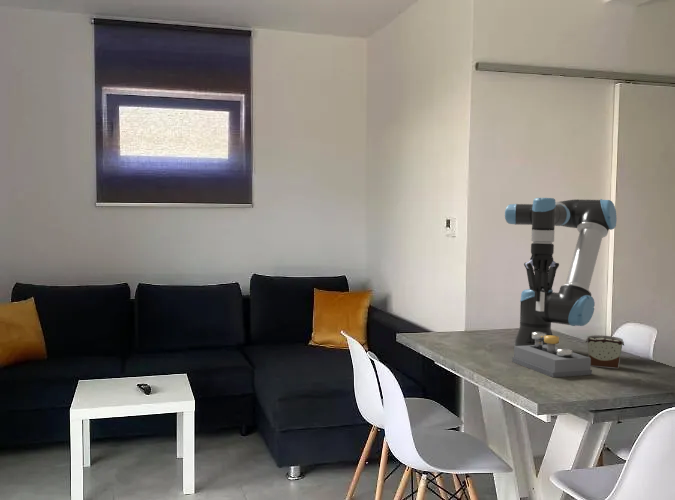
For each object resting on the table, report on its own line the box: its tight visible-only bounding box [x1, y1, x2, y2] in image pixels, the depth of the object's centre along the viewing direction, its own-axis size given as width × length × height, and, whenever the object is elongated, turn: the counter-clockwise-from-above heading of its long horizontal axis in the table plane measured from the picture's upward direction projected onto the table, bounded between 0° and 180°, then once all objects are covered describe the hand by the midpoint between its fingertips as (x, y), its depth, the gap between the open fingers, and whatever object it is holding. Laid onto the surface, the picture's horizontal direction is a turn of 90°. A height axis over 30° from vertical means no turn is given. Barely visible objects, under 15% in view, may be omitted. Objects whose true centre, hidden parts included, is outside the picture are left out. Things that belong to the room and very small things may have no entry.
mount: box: [511, 345, 593, 378], centre depth 231 cm, size 15×23×6 cm, turn 19°
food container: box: [585, 334, 625, 369], centre depth 237 cm, size 12×6×10 cm, turn 71°
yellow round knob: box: [544, 334, 560, 355], centre depth 231 cm, size 5×5×6 cm
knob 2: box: [557, 347, 573, 358], centre depth 224 cm, size 5×5×6 cm
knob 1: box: [532, 332, 546, 350], centre depth 237 cm, size 5×5×6 cm
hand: (539, 310), depth 237 cm, fingers closed
